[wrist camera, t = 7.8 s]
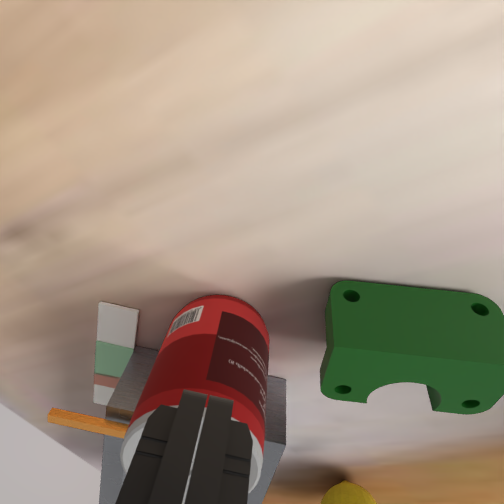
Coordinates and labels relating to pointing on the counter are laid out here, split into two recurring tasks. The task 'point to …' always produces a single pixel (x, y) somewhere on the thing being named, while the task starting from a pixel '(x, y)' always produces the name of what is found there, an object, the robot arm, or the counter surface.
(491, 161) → the counter surface
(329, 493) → the lemon
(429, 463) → the counter surface
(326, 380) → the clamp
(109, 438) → the box
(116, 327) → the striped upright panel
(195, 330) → the canned food
